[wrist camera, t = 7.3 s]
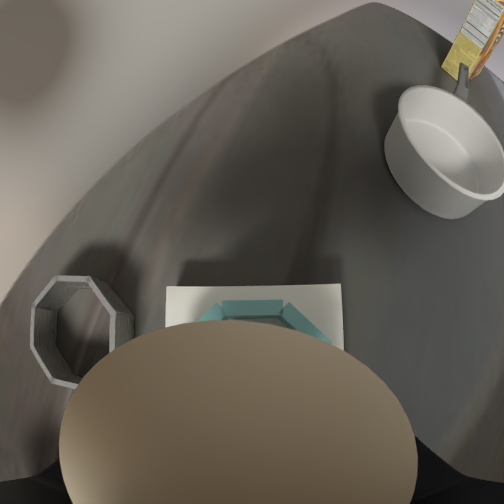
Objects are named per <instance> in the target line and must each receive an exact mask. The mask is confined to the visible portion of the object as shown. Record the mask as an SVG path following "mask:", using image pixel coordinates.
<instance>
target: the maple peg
mask: <svg viewBox="0 0 504 504" xmlns="http://www.w3.org/2000/svg"><path fill="white" fill-rule="evenodd" d="M59 456H60V465H61V470H62V475H63V479H64V482H65V485H66V488H67V491H68V494H69V496H70V498H71V500H72V502H73V504H410V502H411V499H412V496H413V493H414V489H415V484H416V479H417V466H418V455H417V448H416V442H415V436H414V433H413V430H412V427H411V424H410V422H409V419H408V417H407V415H406V413H405V411H404V409H403V408H402V406H401V404H400V402H399V400H398V399H397V398H396V396H395V395H394V394H393V393H392V391H391V390H390V389H389V388H388V386H387V385H386V384H385V383H384V382H383V381H382V380H381V379H380V378H379V377H378V376H377V375H376V374H375V373H374V372H373V371H372V370H370V369H369V368H368V367H367V366H366V365H364V364H363V363H361V362H360V361H358V360H357V359H356V358H354V357H353V356H351V355H350V354H348V353H347V352H345V351H343V350H341V349H339V348H337V347H335V346H333V345H331V344H329V343H327V342H326V341H324V340H321V339H318V338H316V337H313V336H310V335H307V334H305V333H302V332H299V331H297V330H292V329H288V328H284V327H279V326H275V325H271V324H266V323H257V322H249V321H241V320H208V321H199V322H190V323H182V324H178V325H174V326H170V327H165V328H161V329H157V330H155V331H152V332H149V333H147V334H144V335H141V336H139V337H136V338H134V339H132V340H130V341H128V342H127V343H125V344H123V345H121V346H119V347H117V348H116V349H114V350H113V351H112V352H110V353H109V354H108V355H106V356H105V357H104V358H102V359H101V360H100V361H98V362H97V363H96V364H95V365H94V366H93V367H92V368H91V370H90V371H89V372H88V373H87V374H86V375H85V376H84V377H83V378H82V380H81V381H80V383H79V384H78V386H77V387H76V389H75V390H74V392H73V394H72V396H71V398H70V400H69V402H68V404H67V407H66V409H65V412H64V416H63V420H62V423H61V428H60V438H59Z"/></svg>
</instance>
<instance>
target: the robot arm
mask: <svg viewBox="0 0 504 504" xmlns="http://www.w3.org/2000/svg"><path fill="white" fill-rule="evenodd" d="M414 436H415V435H414ZM415 442H416V448H417V455H418V466H417V479H416V484H415V489H414V493H413V496H412V499H411V502H410V504H504V483H500V482H493V481H487V480H482V479H477V478H472V477H468V476H465V475H463V474H461V473H459V472H458V471H456V470H455V469H454V468H452V467H451V466H450V465H449V464H447V463H446V462H445V461H444V460H442V459H441V458H440V457H439V456H437V455H436V454H435V453H434V452H432V451H431V450H430V449H429V448H428V447H427V446H425V445H424V444H423V443H422V442H421V441H420V440H419V439H418V438H417V437H416V436H415ZM0 504H73V502H72V500H71V498H70V496H69V494H68V491H67V488H66V485H65V482H64V479H63V475H62V470H61V465H60V457H59V458H58V459H57V460H56V461H55V462H53V463H52V464H51V465H50V466H48V467H47V468H46V469H45V470H43V471H42V472H40V473H39V474H37V475H35V476H32V477H28V478H22V479H16V480H9V481H2V482H0Z"/></svg>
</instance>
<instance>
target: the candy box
mask: <svg viewBox="0 0 504 504" xmlns="http://www.w3.org/2000/svg"><path fill="white" fill-rule="evenodd" d="M503 34H504V0H475V1H474V3H473V5H472V7H471V9H470V11H469V13H468V15H467V17H466V19H465V21H464V23H463V26H462V28H461V30H460V32H459V34H458V35H457V37H456V39H455V41H454V43H453V45H452V47H451V49H450V51H449V53H448V55H447V57H446V58H445V60H444V62H443V64H442V66H441V68H442V69H443V70H445V71H446V72H447V73H448V74H450V75H451V76H452V77H453V78H454V79H455V80H456V81H457V80H458V72H459V64H460V63H461V62H462V63H463V64H465V65H466V66H468V67H469V79H468V81H469V80H470V79H472V78H473V77H475V76H477V75H478V74H479V73H480V71H481V70H482V68H483V67H484V65H485V63H486V62H487V60H488V59H489V57H490V56H491V54H492V52H493V51H494V49H495V47H496V46H497V44H498V43H499V41H500V39H501V38H502V36H503Z"/></svg>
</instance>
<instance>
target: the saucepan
mask: <svg viewBox="0 0 504 504" xmlns="http://www.w3.org/2000/svg"><path fill="white" fill-rule="evenodd" d="M468 79H469V67H468V66H466V65H465V64H463V63H462V62H461V63H460V64H459V72H458V80H457V86H456V88H455V90H454V92H453V94H452V93H450V92H448V91H446V90H444V89H440V88H437V87H434V86H428V85H417V86H413V87H410V88H408V89H407V90H405V91H404V92H403V94H402V95H401V97H400V99H399V104H398V113H397V115H396V117H395V119H394V121H393V123H392V125H391V127H390V129H389V130H388V132H387V134H386V138H385V142H384V152H385V157H386V161H387V164H388V166H389V169H390V171H391V173H392V175H393V177H394V178H395V180H396V182H397V183H398V185H399V186H400V187H401V188H402V190H403V191H404V192H405V193H406V194H407V195H408V196H409V197H410V198H411V199H412V200H413V201H414V202H415V203H416V204H418V205H419V206H420V207H421V208H423V209H424V210H426V211H428V212H430V213H432V214H433V215H436V216H439V217H442V218H447V219H457V218H462V217H464V216H466V215H468V214H469V213H471V212H472V211H473V210H475V209H476V208H477V207H479V206H480V205H481V204H483V203H484V202H485V201H486V200H494V199H496V198H498V197H500V196H501V195H502V194H503V192H504V150H503V148H502V145H501V143H500V141H499V139H498V138H497V136H496V134H495V133H494V131H493V130H492V128H491V127H490V125H489V124H488V123H487V122H486V121H485V119H484V118H483V117H482V116H481V115H480V114H479V113H478V112H477V111H476V110H475V109H474V108H473V107H471V106H470V105H469V104H468V102H467V98H468Z"/></svg>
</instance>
